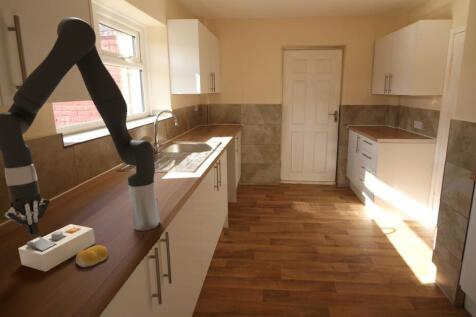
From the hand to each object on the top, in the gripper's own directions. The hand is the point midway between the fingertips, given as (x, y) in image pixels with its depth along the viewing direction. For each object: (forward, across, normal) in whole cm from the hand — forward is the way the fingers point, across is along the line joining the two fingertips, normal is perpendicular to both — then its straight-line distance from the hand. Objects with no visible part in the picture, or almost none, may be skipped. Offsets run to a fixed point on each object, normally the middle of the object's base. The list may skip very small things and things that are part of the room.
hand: (33, 234), depth 95 cm
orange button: (+6, -11, +3) cm, 13 cm away
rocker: (+3, 0, +2) cm, 4 cm away
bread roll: (+10, -6, +16) cm, 20 cm away
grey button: (+4, -6, +3) cm, 8 cm away
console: (+9, -6, +2) cm, 11 cm away
